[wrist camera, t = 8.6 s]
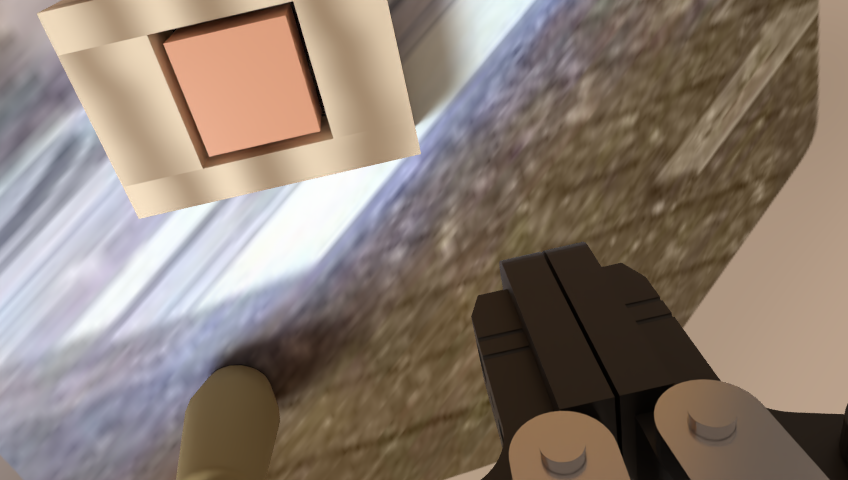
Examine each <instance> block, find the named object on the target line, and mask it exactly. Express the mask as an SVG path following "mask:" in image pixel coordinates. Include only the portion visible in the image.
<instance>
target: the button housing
mask: <svg viewBox="0 0 848 480" xmlns="http://www.w3.org/2000/svg"><path fill="white" fill-rule="evenodd" d="M292 1H293V2H294V6H295V9H296V12H297V16H298V19H299V23H300V26H301V29H302V33H303V36H304V40H305V43H306V47H307V50H308V53H309V57H310V60H311V64H312V67H313V70H314V74H315V77H316V81H317V84H318V88H319V91H320V94H321V98H322V101H323V105H324V108H325V111H326V115H325V116H322V117H321V130H320V131H319V132H315V133H310V134H306V135H302V136H297V137H293V138H289V139H284V140H280V141H276V142H271V143H267V144H263V145H258V146H254V147H250V148H245V149H241V150H236V151H232V152H228V153H223V154H219V155H215V156H210V157H209V155H208V152H207V150H206V147H205V145H204V143H203V140H202V138H201V135H200V133H199V130H198V128H197V125H196V123H195V120H194V118H193V116H192V113H191V111H190V108H189V106H188V103H187V101H186V98H185V96H184V94H183V91H182V89H181V86H180V84H179V81H178V79H177V76H176V74H175V72H174V69H173V67H172V64H171V62H170V59H169V57H168V54H167V52H166V49H165V47H164V45H163V43H164V42H165V41H166V40H167V39H168V38H169V37H170V36H171V35H172V34H173V33H172V31H171V29H175V28H180V27H184V26H188V25H193V24H197V23H201V22H205V21H210V20H214V19H218V18H223V17H227V16H231V15H236V14H240V13H244V12H248V11H253V10H257V9H261V8H266V7H270V6H274V5H279V4H283V3H287V2H292ZM37 15H38V17H39V19H40V21H41V23H42V25H43V27H44V29H45V31H46V33H47V35H48V37H49V39H50V41H51V43H52V45H53V47H54V49H55V51H56V53H57V55H58V57H59V59H60V61H61V63H62V65H63V67H64V69H65V71H66V73H67V75H68V77H69V79H70V81H71V83H72V85H73V87H74V89H75V91H76V93H77V95H78V97H79V99H80V101H81V103H82V105H83V107H84V109H85V111H86V113H87V115H88V117H89V119H90V121H91V123H92V125H93V127H94V129H95V131H96V133H97V135H98V137H99V139H100V141H101V143H102V145H103V148H104V150H105V152H106V154H107V156H108V158H109V160H110V162H111V164H112V166H113V168H114V170H115V172H116V174H117V176H118V178H119V180H120V182H121V184H122V186H123V188H124V190H125V192H126V194H127V196H128V198H129V200H130V202H131V204H132V206H133V208H134V210H135V212H136V214H137V216H138V218H139V219H140V218H144V217H149V216H153V215H157V214H162V213H166V212H170V211H175V210H179V209H184V208H188V207H192V206H197V205H201V204H205V203H210V202H214V201H218V200H223V199H227V198H231V197H236V196H240V195H244V194H249V193H253V192H257V191H262V190H266V189H270V188H275V187H279V186H284V185H288V184H292V183H297V182H301V181H305V180H310V179H314V178H318V177H323V176H327V175H331V174H336V173H340V172H344V171H349V170H353V169H357V168H362V167H366V166H371V165H375V164H379V163H384V162H388V161H392V160H397V159H401V158H405V157H410V156H414V155H418V154H421V152H420V148H419V143H418V138H417V134H416V129H415V125H414V120H413V116H412V111H411V106H410V102H409V97H408V93H407V88H406V84H405V79H404V74H403V70H402V65H401V61H400V56H399V52H398V47H397V42H396V38H395V33H394V29H393V24H392V20H391V15H390V10H389V6H388V1H387V0H62V1H60V2H58V3H56V4H54V5H52V6H50V7H48V8H46V9H44V10H42V11H41V12H39V13H37Z"/></svg>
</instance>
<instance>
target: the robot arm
mask: <svg viewBox="0 0 848 480" xmlns="http://www.w3.org/2000/svg"><path fill="white" fill-rule="evenodd" d="M500 272H501V279H502V285H503V290H500V291H496V292H492V293H487V294H483V295H478V297H477V300H476V303H475V307H474V310H473V313H472V316H471V317H472V322H473V327H474V332H475V337H476V342H477V347H478V352H479V357H480V362H481V367H482V372H483V377H484V381H485V385H486V388H487V392H488V396H489V400H490V403H491V407H492V411H493V414H494V418H495V422H496V425H497V429H498V433H499V436H500V440H501V444H502V447H503V449H502V452H501V455H500V457H499V459H498V461H497V463H496V464H495V466H494V467H493V469H492V470H491V471H490V472H489V473H488V474H487V475H486V476H485V477H484V478H482V479H481V480H848V404H847V407H846V410H845V414H820V413H794V412H783V411H778V410H772V409H769V408H765V406H764V405H763V404H762V403H761V402H760V401H759V400H758V399H757V398H756V397H754V396H753V395H751V394H750V393H749V392H747V391H745V390H743V389H741V388H739V387H737V386H734V385H732V384H729V383H725V382H721V381H720V379H719V378H718V377H717V375H716V374H715V373H714V371H713V370H712V368H711V367H710V366H709V364H708V363H707V361H706V360H705V359H704V358H703V356H702V355H701V353H700V352H699V350H698V349H697V348H696V346H695V345H694V343H693V342H692V341H691V340H690V338H689V337H688V335H687V334H686V332H685V331H684V330H683V328H682V327H681V325H680V324H679V323H678V321H677V320H676V319H675V317H672V314H671V312H670V310H669V309H668V307H667V306H666V305H665V303H664V302H663V301H661V300H660V296H659V295H658V294H657V292H656V291H655V289H654V288H653V287H652V285H651V284H650V283H649V281H648V280H647V278H646V277H645V276H643V275H641V274H640V273H638V272H636V271H635V270H633V269H631V268H630V267H628V266H626V265H624V264H623V263H618V264H614V265H609V266H605V267H601V266H600V264H599V263H598V261H597V259H596V258H595V256H594V255H593V253H592V251H591V250H590V248H589V247H588V245H587V244H586V243H585V242H581V243H576V244H572V245H568V246H563V247H559V248H555V249H550V250H546V251H543V252H542V253H541V252H538V253H533V254H529V255H525V256H520V257H516V258H511V259H507V260H503V261H500Z"/></svg>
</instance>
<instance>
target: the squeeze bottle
mask: <svg viewBox="0 0 848 480" xmlns="http://www.w3.org/2000/svg"><path fill="white" fill-rule="evenodd" d="M279 423H280V416H279V407H278V404H277V402H276V399H275V396H274V393H273V390H272V387H271V384H270V382H269V381H268V379H267V378H266V376H265V375H264V374H262V373H261V372H259V371H258V370H256V369H255V368H251V367H247V366H243V365H233V366H227V367H224V368H221V369H218V370H217V371H216V372H214V373H213V374H212V375H211V376H210V377H209V378H208V379H207V380H206V381H205V383H204V384H203V385H202V386H201V387H200V389H199V390H198V391H197V392H196V393H195V395H194V396H193V397H192V398H191V399H190V402H189V404H188V407H187V409H186V412H185V419H184V426H183V433H182V440H181V448H180V455H179V462H178V470H177V477H176V480H266V476H267V472H268V468H269V464H270V460H271V456H272V452H273V447H274V443H275V439H276V435H277V431H278V427H279Z"/></svg>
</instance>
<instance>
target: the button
mask: <svg viewBox="0 0 848 480" xmlns="http://www.w3.org/2000/svg"><path fill="white" fill-rule="evenodd" d="M163 45H164V47H165V49H166V52H167V54H168V57H169V59H170V62H171V64H172V67H173V69H174V72H175V74H176V76H177V79H178V81H179V84H180V86H181V89H182V91H183V94H184V96H185V98H186V101H187V103H188V106H189V108H190V111H191V113H192V116H193V118H194V120H195V123H196V125H197V128H198V130H199V133H200V135H201V138H202V140H203V143H204V145H205V147H206V150H207V152H208V155H209V157H210V156H215V155H219V154H223V153H228V152H232V151H236V150H241V149H245V148H250V147H254V146H258V145H263V144H267V143H271V142H276V141H280V140H284V139H289V138H293V137H297V136H302V135H306V134H310V133H315V132H319V131H320V130H321V117H322V109H321V106H320V103H319V99H318V96H317V92H316V89H315V86H314V82H313V79H312V75H311V72H310V69H309V65H308V62H307V59H306V55H305V52H304V48H303V45H302V42H301V38H300V35H299V31H298V28H297V25H296V21H295V18H294V15H293V11H292V8H291V4H290V3H286V4H282V5H277V6H273V7H269V8H264V9H260V10H256V11H252V12H247V13H243V14H239V15H234V16H230V17H226V18H221V19H217V20H213V21H208V22H204V23H200V24H196V25H191V26H187V27H183V28H178V29H177V30H176V31H175V32H174V33H173V34H172V35H171V36H170V37H169V38H168V39H167V40H166V41H165V42H164V43H163Z"/></svg>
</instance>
